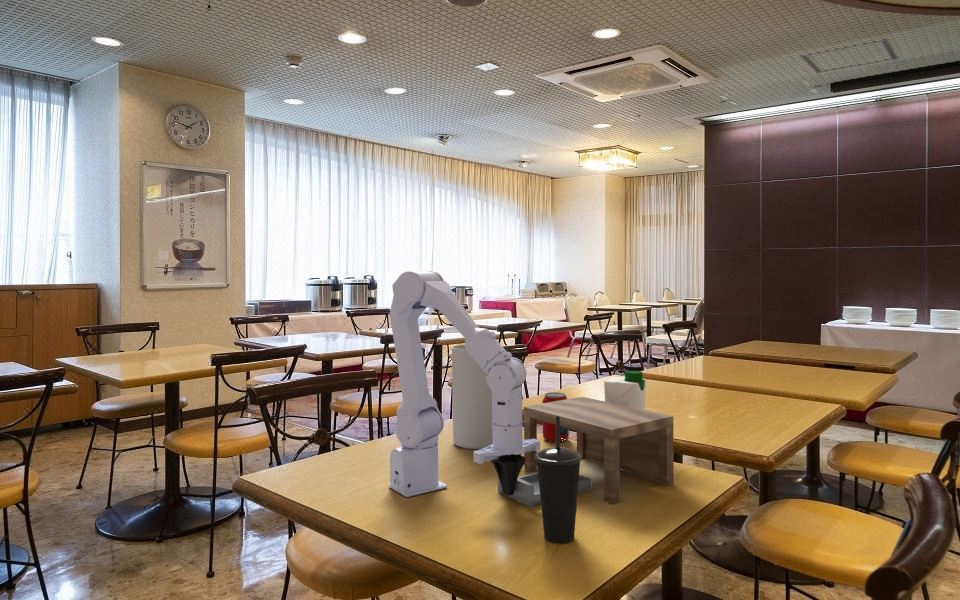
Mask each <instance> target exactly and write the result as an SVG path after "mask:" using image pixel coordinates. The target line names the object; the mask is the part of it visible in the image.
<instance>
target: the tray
mask: <svg viewBox="0 0 960 600" xmlns="http://www.w3.org/2000/svg"><path fill="white" fill-rule="evenodd" d="M592 489H593V479H592V478H589V477H586V476H585V475H582V474H579V482H578V494H580V493H583V492H587V491H590V490H592ZM497 493H500V495H501V494H502V495H503V496H506V497H508V498H510V499H512V500H514V501H516V502H519V503H521V504H523V505H524V506H527V507H529V508H532V507H535V506H538V505H541V498H540V489H539V479H538V471H536V472H533V473H529V474H525V475H521V476H520V475H519V476H518V479H517V482H516V486H515V490H514V494H513V495H510V496H508V495H506V494H504V493H503V491H502V487H501V483H500V480H499V477H498V476H497Z"/></svg>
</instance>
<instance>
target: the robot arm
mask: <svg viewBox="0 0 960 600" xmlns="http://www.w3.org/2000/svg"><path fill="white" fill-rule="evenodd" d="M391 287H392V293H393V298H392V301H391V305H390V309H389V317H390V325H391V332H392V336H393V337H392V338H393V344H394V349H395V350H394V352H395V357H396V358H395V359H396V365H397V369H398V376H399V382H400V383H399V384H400V389H401V396H402V399H401V402H400V403H399V406H398V407H397V409H396V413H395V414H396V423H395V428H394V431H395V435H396V436H395V437H396V439H397V441H398V442H400V444H401V445H400V446H399V447H395V448H393V449H392V450H391V451H390V456H389V470H390V471H389V479H390V480H389V481H390V482H389V484H388V487H389V488H391V489H392V490H393V491H396V492H397V493H398V494H401V495H402V496H404V497H405V498H408V497H409V498H410V497H414V496H417V495H421V494H424V493H430V492H433V491H437V490H438V491H439V490H442V489H446V488H447V487H448V485H447V483H444V482H442V481H440V480H439V435H440V434H441V433H442V431H443V429H444V426H445V424H444V423H445V422H444V417H443V415H442V413H441V412H440V410H439V408H438V402H437V400H436V399H435V397H433V396H431V394H430V390H429V385H428V378H427V372H426V365H425V358H424V352H423V348H422V347H423V346H422V341H421V340H422V338H421V333H420V328H419V327H420V326H419V318H420V317H421V315H422V314H423V313H424V311H426V309H427V308H431V309H435V310H438V311H439V312H440V313H441V314H442V315H443V316H444V317H445V318H446V320H447V321H448V322H450V324H451V325H452V327H454V329H456V331H458V333H459V334H460V335H461V336H462V337H463V338H464V344H465V348H466V350H467V351H468V352H469V353H470V355H471V356H472V357H473V358H474V360H475V361H476V362H477V363H478V364H479V366H480V367H481V368H482V369H483V371H484V372H485V373H486V374H488V376H486V381H487V384H488V386H489V387H490V389H491V390H492V430H493V444H492V445H490V446H488V447H485V448H483V449H476V450H474V451H473V462H474V463H476V464H479V465H481V464H484V463H485V462H489V461H490V462H491V464H492V465H493V467H494V470H495V472H496V473H497V478H498V477H499V480H500V483H501V487H502V491H503V493H504V494H506V495H508V496H510V495H513V494H514V490H515V486H516V482H517V479H518V477H520V473H521V470H522V468H523V467H524V464H525V457H524V453H525V452H529V451H537V452H539V451H541V441H540V440H538V439H537V440H536V439H529V440H524V435H523V386H522V385H523V383H525V381H526V379H527V369H526V367H525V365H524V364H523V361H522V360H521V359H519V358H517V357H513V355H512V353H511V352H510V351H507V350H506V349H505V348H504V346H502V344H501V343H500V342H499V341H498V340H497V336H498V335H497V334H496V333H495V331H490V330H489V329H488V328H481V327H479V326H478V324H477V323H476V322H475V321H474V319H473V318H472V317H471V315H470V314H469V313H468V311H467V309H466V308H465V307H464V306H463V305H462V303H461V301H459V299H458V298H457V296H456V295H455V294H454V292H453V290H452V288H451V285H450V284H449V282H447V281H446V280H444V278H443V276H442V275H441V274H440V273H439V272H437V271H434V270H433V271H431V270H430V271H413V270H412V271H411V270H408V271H404V272H402V273H401V274H400V275H399V276H398V278H397V279H396V280H395V281H394V282H393V284H392V285H391ZM522 454H523V455H522ZM508 496H507V497H508Z"/></svg>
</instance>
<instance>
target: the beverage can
mask: <svg viewBox="0 0 960 600" xmlns="http://www.w3.org/2000/svg"><path fill="white" fill-rule="evenodd" d="M566 399H568V397H567V394H566V393H564V392H546V393H544V397H543V399H542V404H543V403H548V402H554V401H560V400H566ZM569 432H570V429H569V428H566V427H562V426H560V443H562V440H563V442H565V441H564V439H566V440H568V439H569V437H570V433H569ZM542 438H543V439H544V440H546V441H547V440H548V441H547V442H549V441H550V442H551V443H556V425H555V424H552V423H548V422H544V421H542ZM561 438H563V439H561Z"/></svg>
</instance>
